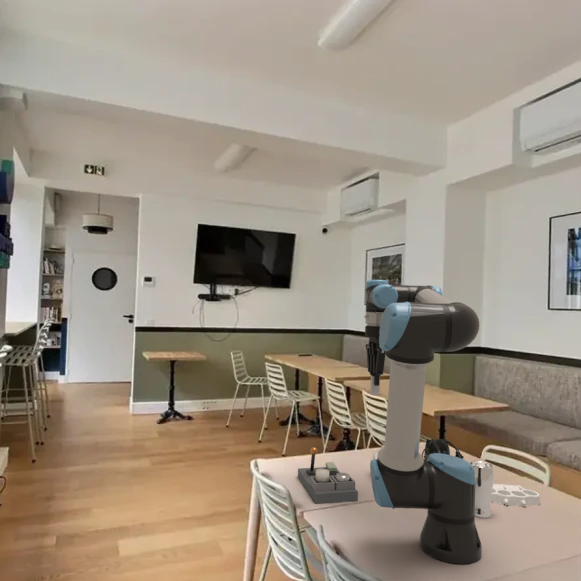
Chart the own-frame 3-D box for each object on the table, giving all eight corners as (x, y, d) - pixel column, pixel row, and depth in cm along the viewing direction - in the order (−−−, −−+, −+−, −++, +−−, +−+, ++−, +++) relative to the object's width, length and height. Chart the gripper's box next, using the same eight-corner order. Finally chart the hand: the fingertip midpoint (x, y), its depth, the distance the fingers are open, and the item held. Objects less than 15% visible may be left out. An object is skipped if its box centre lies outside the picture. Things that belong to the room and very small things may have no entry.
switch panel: (357, 501, 155) (358, 483, 155) (315, 503, 152) (316, 486, 152) (334, 474, 178) (335, 459, 179) (297, 476, 175) (298, 461, 175)
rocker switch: (336, 471, 170) (336, 467, 170) (328, 471, 169) (329, 468, 169) (332, 465, 174) (333, 462, 174) (325, 465, 174) (325, 462, 173)
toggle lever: (316, 472, 169) (318, 449, 167) (309, 473, 169) (311, 449, 167) (314, 468, 172) (316, 445, 170) (307, 468, 171) (309, 445, 169)
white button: (330, 482, 156) (330, 473, 156) (317, 483, 155) (317, 473, 155) (326, 477, 160) (327, 468, 160) (313, 478, 159) (314, 469, 159)
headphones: (407, 445, 200) (432, 468, 181) (431, 422, 201) (457, 443, 182) (426, 465, 203) (452, 491, 184) (449, 443, 204) (477, 466, 185)
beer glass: (478, 519, 143) (478, 468, 144) (463, 510, 150) (464, 461, 151) (498, 517, 145) (498, 467, 146) (483, 508, 152) (483, 459, 152)
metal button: (351, 486, 157) (351, 476, 158) (338, 487, 157) (338, 477, 157) (346, 481, 162) (346, 472, 162) (334, 482, 161) (334, 472, 161)
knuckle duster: (528, 493, 167) (546, 511, 152) (474, 489, 168) (486, 507, 154) (528, 483, 167) (546, 500, 152) (474, 480, 168) (486, 496, 154)
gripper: (359, 324, 171) (357, 391, 170) (373, 325, 158) (371, 398, 157) (379, 324, 172) (377, 391, 172) (394, 326, 160) (393, 398, 159)
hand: (374, 394), depth 164 cm, fingers closed
